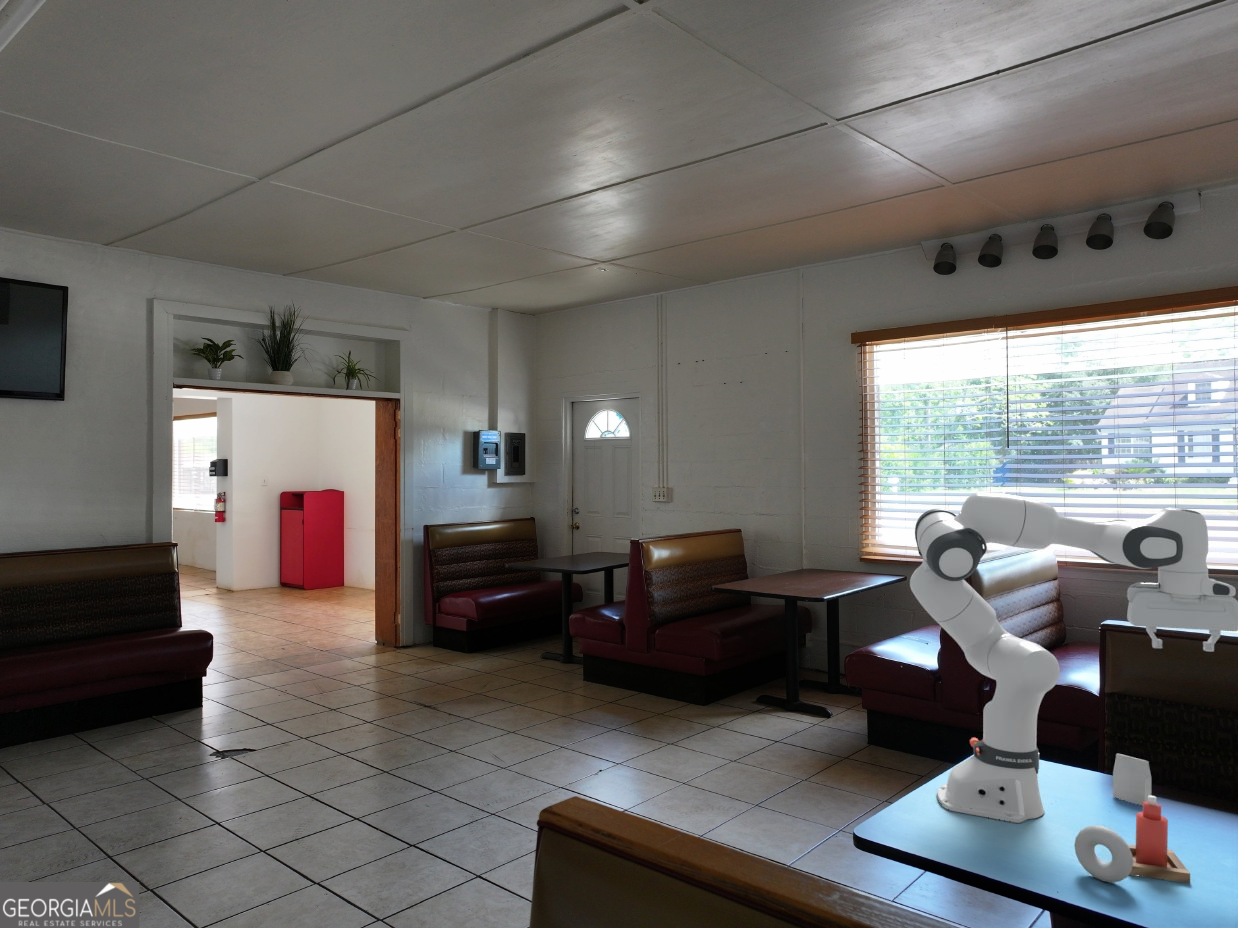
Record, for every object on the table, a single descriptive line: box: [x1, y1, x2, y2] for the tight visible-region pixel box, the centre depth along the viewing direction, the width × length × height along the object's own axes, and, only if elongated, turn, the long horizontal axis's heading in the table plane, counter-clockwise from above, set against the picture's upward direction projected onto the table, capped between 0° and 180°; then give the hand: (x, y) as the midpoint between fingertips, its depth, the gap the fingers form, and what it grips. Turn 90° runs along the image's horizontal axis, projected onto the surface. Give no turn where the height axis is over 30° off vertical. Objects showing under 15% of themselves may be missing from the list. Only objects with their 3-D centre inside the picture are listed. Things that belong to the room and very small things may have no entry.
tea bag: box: [1112, 753, 1152, 807], centre depth 194 cm, size 4×7×10 cm, turn 38°
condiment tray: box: [1127, 844, 1191, 884], centre depth 162 cm, size 10×10×2 cm
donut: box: [1074, 824, 1133, 884], centre depth 156 cm, size 10×3×10 cm, turn 39°
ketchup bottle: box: [1135, 794, 1169, 867], centre depth 162 cm, size 5×5×13 cm
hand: (1182, 649), depth 177 cm, fingers open, 8 cm apart
